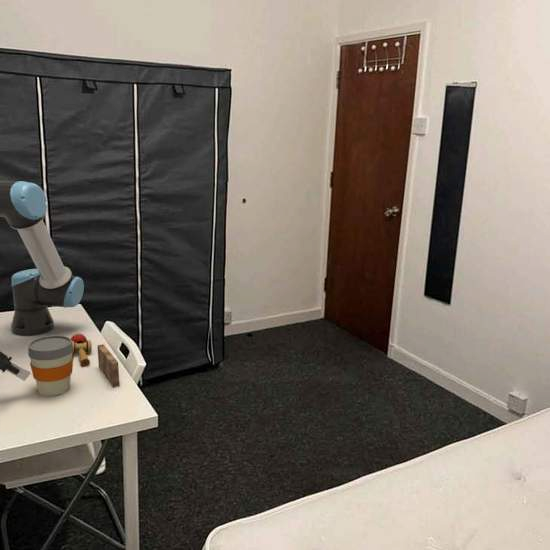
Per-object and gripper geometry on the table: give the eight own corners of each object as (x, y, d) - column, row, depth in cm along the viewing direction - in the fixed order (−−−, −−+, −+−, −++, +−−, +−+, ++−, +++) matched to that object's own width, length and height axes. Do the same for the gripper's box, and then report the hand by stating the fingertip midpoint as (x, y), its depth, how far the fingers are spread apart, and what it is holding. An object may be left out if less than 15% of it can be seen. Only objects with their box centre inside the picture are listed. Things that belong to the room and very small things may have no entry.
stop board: (98, 367, 182) (97, 345, 180) (104, 366, 183) (103, 344, 181) (113, 387, 169) (111, 363, 167) (119, 385, 170) (118, 362, 168)
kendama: (99, 367, 185) (90, 341, 200) (95, 352, 182) (86, 327, 197) (76, 375, 182) (68, 348, 197) (71, 359, 180) (63, 333, 194)
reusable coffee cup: (29, 400, 160) (24, 353, 155) (34, 381, 171) (30, 336, 167) (75, 396, 163) (71, 349, 159) (77, 377, 175) (73, 333, 171)
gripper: (-57, 336, 153) (14, 377, 166) (-55, 352, 142) (21, 395, 156) (-37, 315, 154) (32, 358, 167) (-34, 330, 144) (40, 374, 157)
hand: (27, 376), depth 161 cm, fingers closed
